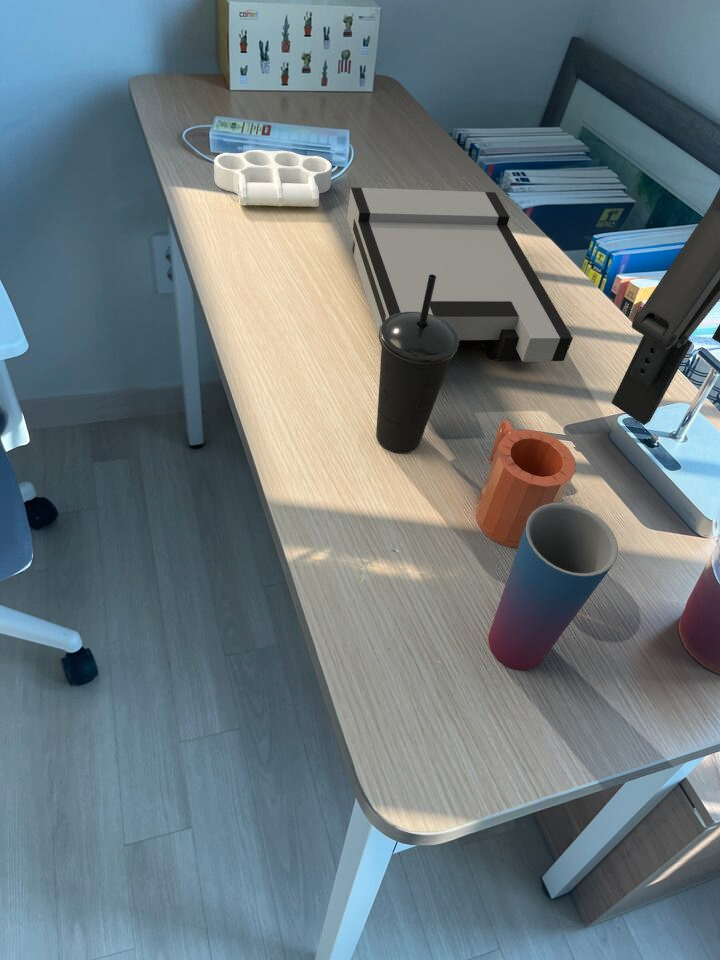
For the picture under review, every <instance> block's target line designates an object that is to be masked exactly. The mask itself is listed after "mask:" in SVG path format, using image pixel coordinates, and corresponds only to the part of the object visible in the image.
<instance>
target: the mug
mask: <svg viewBox="0 0 720 960" xmlns="http://www.w3.org/2000/svg"><path fill="white" fill-rule="evenodd" d="M494 438H495V439H494V442H493V444H492V447H491V451H490V453H489V456H488V460H487V462H488V466H489V470H488V472H487V475H486V479H485V481H484V484H483V487H482V489H481V492H480V494H479V498H478V500H477V505H476V507H475V508H476V509H475V519H476V522H477V524H478V526H479V528H480V529H481V531H482V532H483V533H484V535H486V536H487V537H488V538H489V539H491V540H492V541H494V542H495V543H497V544H500V545H502V546H505V547H507V548H508V547H509V548H515V549H518V546H519V543H520V540H521V537H522V535H523V532H524V529H525V526H526V523H527V520H528V518H529V516H530V515H531V514H532V512H533V511H535V510H536V509H537V508H539V507H541V506H543V505H546V504H551V503H562V500H563V497H564V495H565V493H566V492H567V490H568V487H569V486H570V483H571V481H572V479H573V477H574V475H575V473H576V470H577V469H576V468H577V467H576V459H575V456H574V455H573V454H572V452H571V450H570V448H569V447H568V446H567V445H565V444H564V443H563V442H562V441H561V440H560V439H558V438H556V437H555V436H552V435H550V434H548V433H545V432H543V431H539V430H532V429H520V430H517V429H516V427H515V426H514V424H513V422H512V421H511V420H510V419H503V420H502V421H501V422H500V424H499V427H498V430H497V432H496V435H495V437H494Z"/></svg>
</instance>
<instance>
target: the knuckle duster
mask: <svg viewBox="0 0 720 960" xmlns="http://www.w3.org/2000/svg"><path fill="white" fill-rule="evenodd" d="M213 173H214V176H213V177H214V184H215V185H216V186H217V187H218V188H219V189H221V190H223V191H226V192H231V193H234V194H236V195H237V198H238V204H239V205H240V206H243V207H244V206H245V207H246V206H271V207H272V206H273V207H311V208H316V207H317V208H318V207H319V205H320V194H325V193H326V192H327V191H329V190H330V188H331V183H332V175H333V174H332V173H333V165H332V163H331V162H330V161H329V160H328V159H326V158H324V157H322V156H319V155H303V154H299V153H296V152H294V151H290V150H289V151H287V150H276V151H272V150H263V149H252V150H247V151H244V152H239V153H237V152H236V153H232V152H222V153H220V154H218V155H217V156H215V158H214V160H213Z"/></svg>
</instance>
